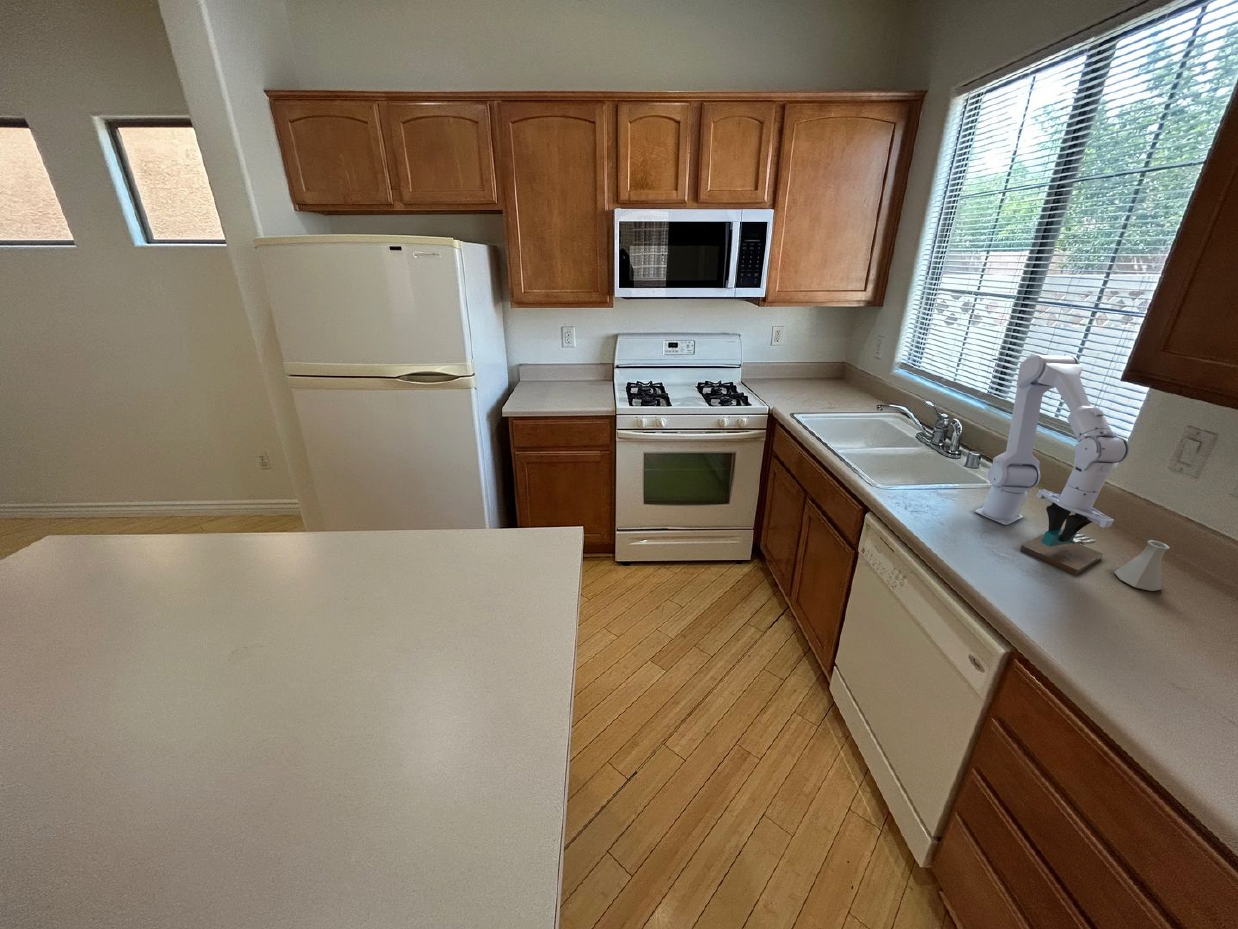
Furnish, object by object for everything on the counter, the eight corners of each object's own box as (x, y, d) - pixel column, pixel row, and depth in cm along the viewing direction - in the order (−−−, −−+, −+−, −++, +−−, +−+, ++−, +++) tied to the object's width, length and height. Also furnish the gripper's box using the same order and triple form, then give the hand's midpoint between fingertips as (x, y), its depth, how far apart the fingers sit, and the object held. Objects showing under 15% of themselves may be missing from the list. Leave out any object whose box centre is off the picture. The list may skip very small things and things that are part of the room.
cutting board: (1046, 536, 123) (1048, 531, 122) (1100, 558, 114) (1103, 553, 113) (1019, 550, 116) (1021, 545, 116) (1075, 575, 108) (1078, 570, 107)
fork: (1054, 549, 110) (1059, 538, 109) (1035, 539, 114) (1040, 528, 113) (1095, 543, 113) (1100, 532, 112) (1076, 533, 117) (1081, 523, 116)
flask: (1139, 572, 109) (1161, 536, 105) (1169, 593, 103) (1193, 555, 99) (1105, 570, 110) (1126, 533, 106) (1133, 590, 103) (1156, 552, 99)
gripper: (1134, 500, 101) (1105, 553, 107) (1062, 471, 114) (1039, 520, 120) (1110, 503, 99) (1082, 557, 105) (1039, 474, 112) (1018, 523, 118)
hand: (1058, 537), depth 112 cm, fingers closed on fork, 2 cm apart
